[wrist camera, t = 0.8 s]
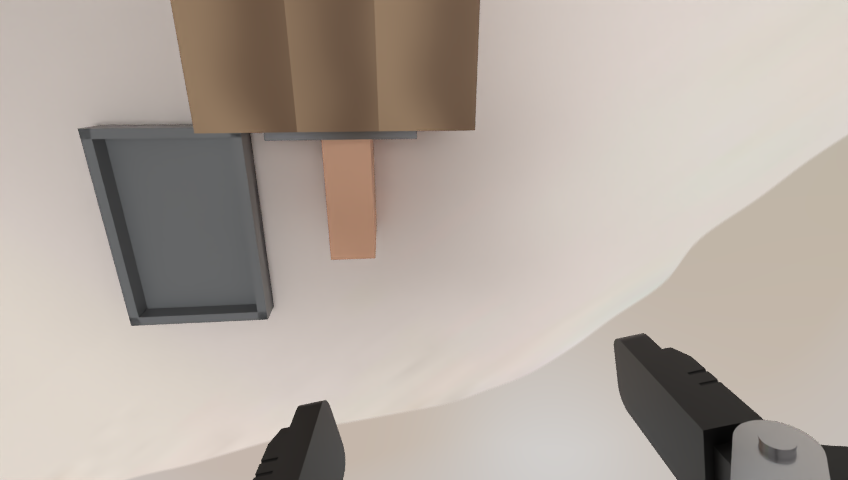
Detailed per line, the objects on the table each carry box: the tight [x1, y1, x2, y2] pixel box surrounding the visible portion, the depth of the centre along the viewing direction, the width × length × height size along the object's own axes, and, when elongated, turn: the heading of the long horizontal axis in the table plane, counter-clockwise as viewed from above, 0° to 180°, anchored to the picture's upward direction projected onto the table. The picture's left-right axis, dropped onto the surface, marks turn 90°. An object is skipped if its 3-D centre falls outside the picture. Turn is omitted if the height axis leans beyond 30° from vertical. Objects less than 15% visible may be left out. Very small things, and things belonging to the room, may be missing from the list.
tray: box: [78, 125, 274, 326], centre depth 28 cm, size 9×13×2 cm
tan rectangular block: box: [321, 139, 377, 260], centre depth 26 cm, size 2×10×6 cm, turn 0°
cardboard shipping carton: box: [170, 0, 480, 141], centre depth 22 cm, size 12×10×10 cm
